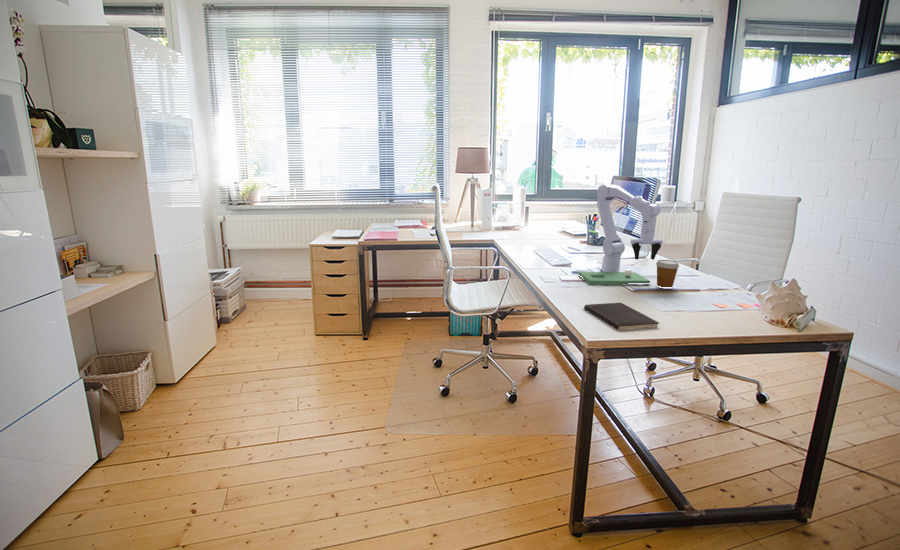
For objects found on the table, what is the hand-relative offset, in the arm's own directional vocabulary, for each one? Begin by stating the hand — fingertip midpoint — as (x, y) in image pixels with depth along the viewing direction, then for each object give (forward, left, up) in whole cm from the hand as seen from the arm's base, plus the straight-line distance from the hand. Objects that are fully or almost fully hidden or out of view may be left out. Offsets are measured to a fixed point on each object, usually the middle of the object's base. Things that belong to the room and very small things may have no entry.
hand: (644, 259), depth 223 cm
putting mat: (0, -14, -10) cm, 17 cm away
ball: (0, -7, -7) cm, 10 cm away
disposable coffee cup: (+12, +5, -11) cm, 17 cm away
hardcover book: (+52, -32, -11) cm, 62 cm away
